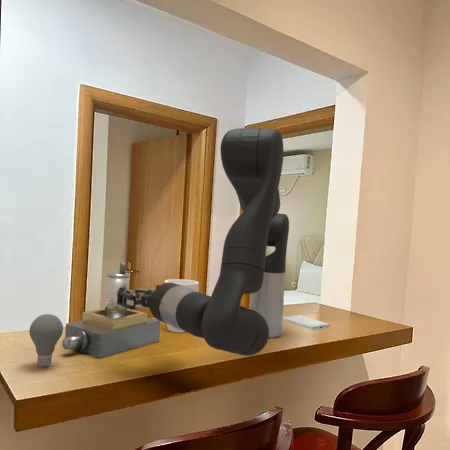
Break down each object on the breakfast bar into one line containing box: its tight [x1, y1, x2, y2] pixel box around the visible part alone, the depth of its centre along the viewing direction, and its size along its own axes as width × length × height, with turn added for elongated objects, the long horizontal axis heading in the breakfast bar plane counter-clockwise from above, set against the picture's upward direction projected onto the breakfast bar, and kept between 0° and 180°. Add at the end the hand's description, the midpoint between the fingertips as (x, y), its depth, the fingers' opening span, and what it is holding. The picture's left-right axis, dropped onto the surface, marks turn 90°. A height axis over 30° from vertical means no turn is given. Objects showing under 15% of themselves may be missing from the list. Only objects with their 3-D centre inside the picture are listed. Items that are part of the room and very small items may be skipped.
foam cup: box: [163, 278, 200, 333], centre depth 114 cm, size 10×9×13 cm
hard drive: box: [282, 314, 331, 331], centre depth 129 cm, size 2×8×12 cm
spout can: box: [104, 262, 131, 318], centre depth 97 cm, size 5×5×14 cm
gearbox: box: [61, 307, 161, 359], centre depth 96 cm, size 22×12×7 cm, turn 146°
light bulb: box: [29, 313, 64, 368], centre depth 81 cm, size 6×6×10 cm
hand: (139, 290), depth 89 cm, fingers open, 8 cm apart
